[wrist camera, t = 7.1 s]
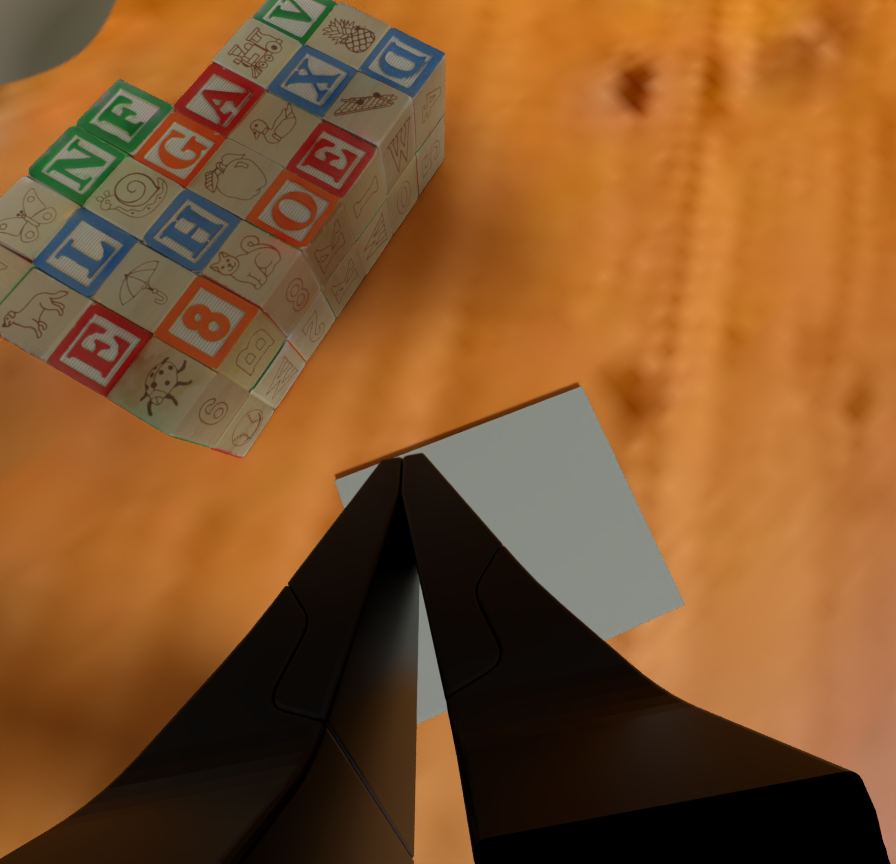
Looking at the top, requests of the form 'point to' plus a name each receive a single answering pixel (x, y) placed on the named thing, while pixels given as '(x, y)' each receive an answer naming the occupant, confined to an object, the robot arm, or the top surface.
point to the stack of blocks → (222, 218)
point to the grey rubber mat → (550, 519)
